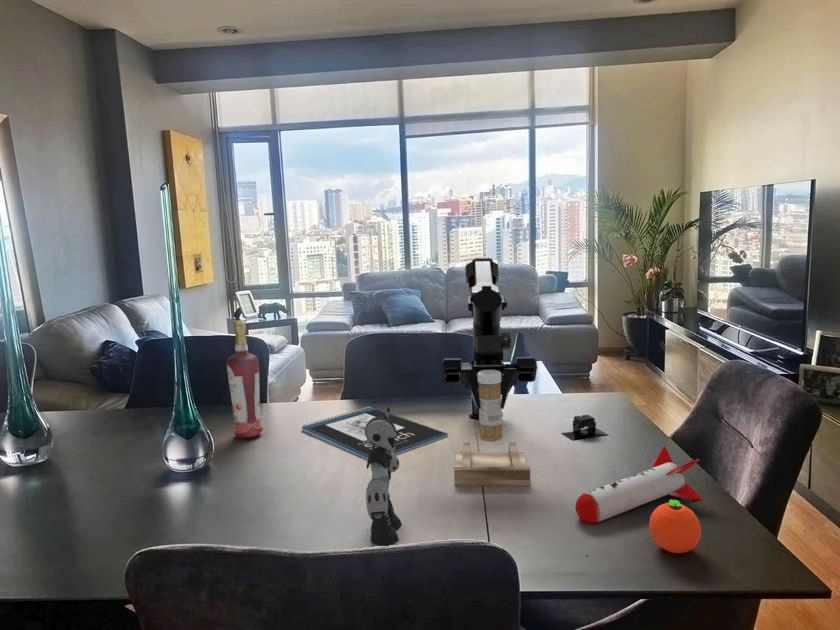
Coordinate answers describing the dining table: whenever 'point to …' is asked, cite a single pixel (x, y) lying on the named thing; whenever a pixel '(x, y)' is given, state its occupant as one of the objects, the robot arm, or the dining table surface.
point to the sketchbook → (352, 432)
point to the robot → (381, 480)
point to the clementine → (675, 527)
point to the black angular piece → (584, 433)
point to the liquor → (244, 386)
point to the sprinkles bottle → (490, 405)
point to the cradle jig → (491, 467)
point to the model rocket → (636, 490)
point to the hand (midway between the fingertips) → (490, 408)
